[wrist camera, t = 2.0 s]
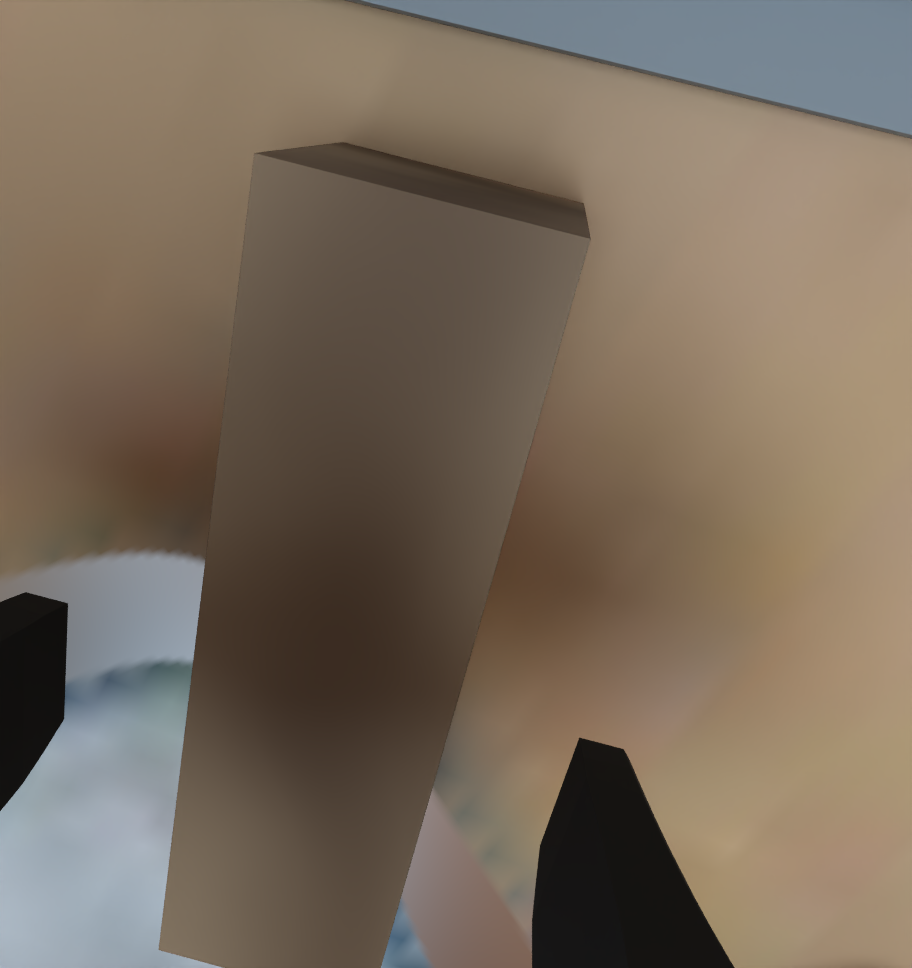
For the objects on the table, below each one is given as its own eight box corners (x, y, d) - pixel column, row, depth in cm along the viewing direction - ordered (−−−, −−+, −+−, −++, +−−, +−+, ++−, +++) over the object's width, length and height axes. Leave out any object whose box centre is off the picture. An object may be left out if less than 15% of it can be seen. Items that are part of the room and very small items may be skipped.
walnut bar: (244, 775, 20) (158, 949, 16) (346, 141, 14) (254, 153, 10) (410, 820, 20) (369, 1006, 16) (583, 202, 14) (590, 238, 10)
